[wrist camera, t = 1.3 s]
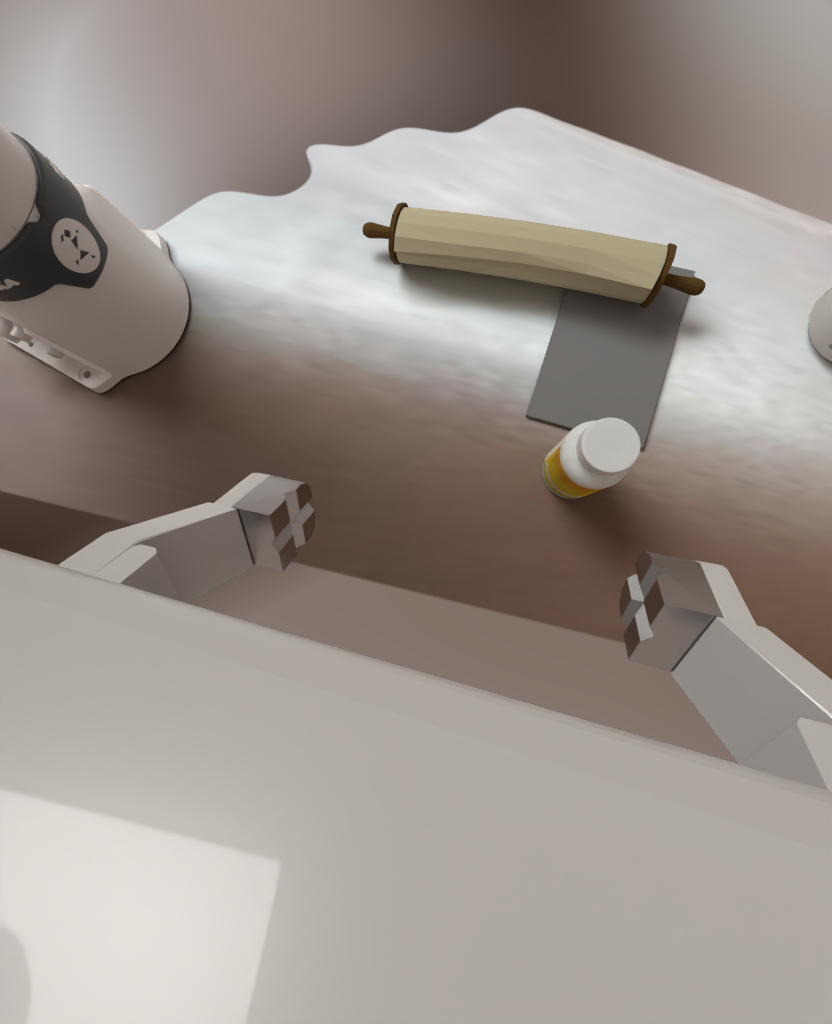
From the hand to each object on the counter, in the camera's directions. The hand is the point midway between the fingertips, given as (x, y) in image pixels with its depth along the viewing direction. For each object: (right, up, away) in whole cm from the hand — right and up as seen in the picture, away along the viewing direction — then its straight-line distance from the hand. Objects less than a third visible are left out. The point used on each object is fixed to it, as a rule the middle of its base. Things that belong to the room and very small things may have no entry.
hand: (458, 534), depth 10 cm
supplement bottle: (+14, +4, +27) cm, 30 cm away
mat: (+18, +17, +28) cm, 37 cm away
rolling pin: (+9, +24, +29) cm, 39 cm away
